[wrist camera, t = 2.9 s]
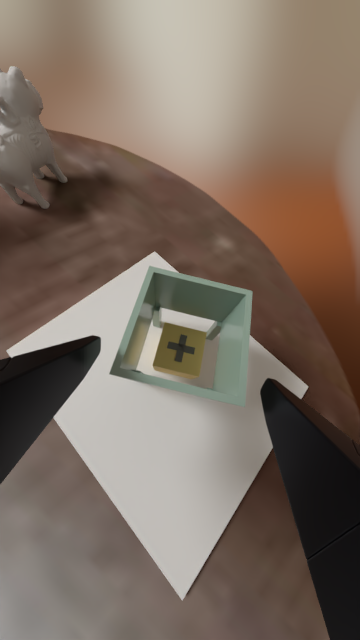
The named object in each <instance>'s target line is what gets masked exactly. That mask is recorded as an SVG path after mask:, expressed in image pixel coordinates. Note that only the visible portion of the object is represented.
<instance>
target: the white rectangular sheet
mask: <svg viewBox="0 0 360 640" xmlns="http://www.w3.org/2000/svg"><path fill="white" fill-rule="evenodd" d="M149 266H152V267H157V268H161V269H165V270H169V271H173V272H177V271H176V270H175V269H174V268H173V267H172V266H171V265H169V264H168V263H167V262H166V261H165V260H164V259H163V258H162V257H160V256H159V255H158V254H157V253H156V252H153V253H152V254H150V255H149V256H147V257H146V258H144V259H143V260H141V261H140V262H138V263H137V264H135V265H134V266H132V267H131V268H129V269H128V270H126V271H125V272H123V273H122V274H120V275H119V276H117V277H116V278H114V279H113V280H111V281H110V282H108V283H107V284H105V285H104V286H102V287H101V288H99V289H98V290H96V291H95V292H93V293H92V294H90V295H89V296H87V297H86V298H84V299H83V300H81V301H80V302H78V303H77V304H75V305H74V306H72V307H71V308H69V309H68V310H66V311H65V312H63V313H62V314H60V315H59V316H57V317H56V318H54V319H53V320H51V321H50V322H48V323H47V324H45V325H44V326H42V327H41V328H39V329H38V330H37V331H35V332H34V333H32V334H31V335H29V336H28V337H26V338H25V339H23V340H22V341H20V342H19V343H17V344H16V345H14V346H13V347H11V348H10V349H8V350H7V352H8V354H9V355H10V357H13V356H17V355H21V354H24V353H28V352H32V351H35V350H39V349H43V348H47V347H50V346H54V345H58V344H61V343H65V342H69V341H73V340H76V339H80V338H84V337H88V336H91V335H95V336H99V337H100V338H101V351H100V354H99V356H98V357H97V359H96V360H95V362H94V364H93V365H92V367H91V368H90V370H89V371H88V373H87V375H86V376H85V378H84V379H83V380H82V382H81V383H80V384H79V386H78V387H77V388H76V389H75V391H74V392H73V393H72V394H71V396H70V397H69V398H68V399H67V401H66V402H65V403H64V404H63V406H62V407H61V408H60V410H59V411H58V412H57V413H56V415H55V416H54V417H53V418H54V419H55V421H56V422H57V423H58V425H59V426H60V428H61V429H62V431H63V432H64V433H65V435H66V436H67V438H68V439H69V440H70V442H71V443H72V445H73V446H74V448H75V449H76V450H77V452H78V453H79V455H80V456H81V458H82V459H83V460H84V462H85V463H86V465H87V466H88V467H89V469H90V470H91V472H92V473H93V475H94V476H95V477H96V479H97V480H98V482H99V483H100V484H101V486H102V487H103V489H104V490H105V492H106V493H107V494H108V496H109V497H110V499H111V500H112V502H113V503H114V504H115V506H116V507H117V509H118V510H119V511H120V513H121V514H122V516H123V517H124V519H125V520H126V521H127V523H128V524H129V526H130V527H131V528H132V530H133V531H134V533H135V534H136V536H137V537H138V538H139V540H140V541H141V543H142V544H143V546H144V547H145V548H146V550H147V551H148V553H149V554H150V555H151V557H152V558H153V560H154V561H155V563H156V564H157V565H158V567H159V568H160V570H161V571H162V573H163V574H164V575H165V577H166V578H167V580H168V581H169V582H170V584H171V585H172V587H173V588H174V590H175V591H176V592H177V594H178V595H179V597H180V598H181V599H182V600H183V599H184V597H185V595H186V593H187V592H188V590H189V588H190V587H191V585H192V583H193V582H194V580H195V578H196V577H197V575H198V573H199V571H200V570H201V568H202V566H203V565H204V563H205V561H206V560H207V558H208V556H209V555H210V553H211V551H212V549H213V548H214V546H215V544H216V543H217V541H218V539H219V538H220V536H221V534H222V533H223V531H224V529H225V527H226V526H227V524H228V522H229V521H230V519H231V517H232V516H233V514H234V512H235V511H236V509H237V507H238V505H239V504H240V502H241V500H242V499H243V497H244V495H245V494H246V492H247V490H248V489H249V487H250V485H251V483H252V482H253V480H254V478H255V477H256V475H257V473H258V472H259V470H260V468H261V466H262V465H263V463H264V461H265V460H266V458H267V456H268V455H269V453H270V451H271V450H272V448H273V445H272V442H271V439H270V435H269V432H268V429H267V425H266V421H265V417H264V411H263V406H262V401H261V396H260V390H261V387H262V386H263V384H264V382H265V380H266V379H267V378H271V379H275V380H277V381H278V382H279V383H281V384H282V385H283V386H285V387H286V388H287V389H288V390H290V391H291V392H292V393H294V394H295V395H296V396H297V397H299V398H300V399H302V397H303V395H304V394H305V392H306V390H307V389H308V386H307V385H306V384H305V383H304V382H303V381H301V380H300V379H299V378H298V377H297V376H296V375H295V374H294V373H292V372H291V371H290V370H289V369H288V368H287V367H286V366H284V365H283V364H282V363H281V362H280V361H279V360H278V359H276V358H275V357H274V356H273V355H272V354H271V353H270V352H268V351H267V350H266V349H265V348H264V347H263V346H262V345H261V344H259V343H258V342H257V341H256V340H255V339H254V338H253V337H251V336H250V338H249V353H248V369H247V384H246V400H245V407H241V406H237V405H232V404H228V403H223V402H219V401H214V400H210V399H205V398H201V397H197V396H194V395H190V394H186V393H181V392H177V391H173V390H169V389H165V388H161V387H157V386H153V385H149V384H145V383H144V384H143V383H139V382H135V381H132V380H128V379H125V378H121V377H117V376H114V375H110V374H109V373H110V370H111V367H112V365H113V362H114V359H115V357H116V354H117V351H118V349H119V346H120V343H121V341H122V338H123V335H124V333H125V330H126V327H127V324H128V322H129V319H130V316H131V314H132V311H133V308H134V306H135V303H136V300H137V298H138V295H139V292H140V290H141V287H142V284H143V281H144V279H145V276H146V273H147V271H148V268H149ZM177 273H179V272H177ZM165 322H166V323H171V324H175V325H179V326H183V327H187V328H191V329H195V330H199V331H203V332H207V331H208V330H209V328H210V327H211V326H212V325H213V323H214V322H215V321H213V320H209V319H205V318H201V317H197V316H193V315H189V314H185V313H181V312H177V311H173V310H168V309H164V308H162V322H161V326H160V328H159V327H155V326H153V322H152V321H151V324H150V328H149V331H148V334H147V337H146V340H145V344H144V347H143V350H142V353H141V356H140V359H139V363H138V366H137V369H136V370H138V371H141V372H142V373H144V374H146V375H150V376H155V377H159V378H163V379H167V380H171V381H175V382H179V383H183V384H187V385H191V386H196V387H200V388H211V389H212V388H213V381H214V374H215V367H216V359H217V352H218V345H219V338H220V333H219V334H218V335H217V336H216V337H215V338H214V339H213V340H208V339H206V340H205V346H204V352H203V358H202V363H201V369H200V375H199V377H197V378H194V379H188V378H184V377H180V376H176V375H172V374H168V373H164V372H159V371H155V370H154V368H153V362H154V358H155V355H156V351H157V348H158V344H159V341H160V337H161V333H162V330H163V326H164V323H165Z"/></svg>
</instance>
